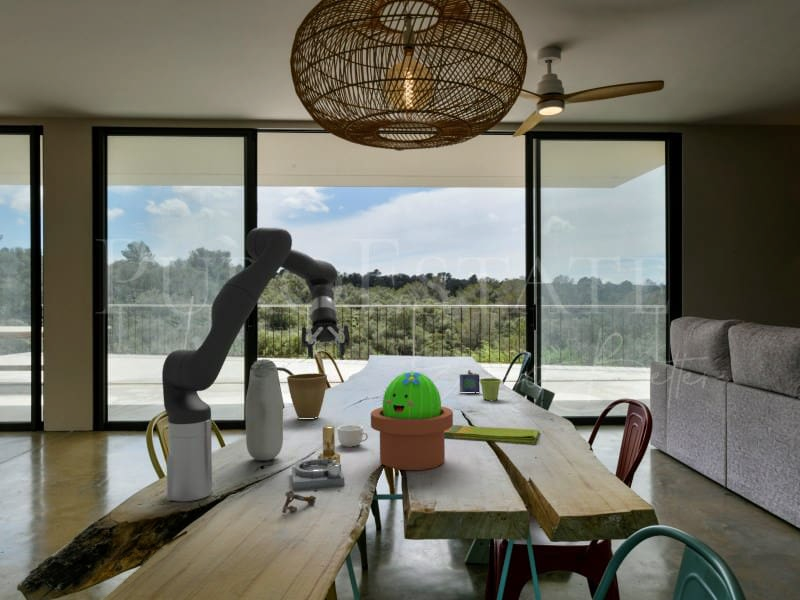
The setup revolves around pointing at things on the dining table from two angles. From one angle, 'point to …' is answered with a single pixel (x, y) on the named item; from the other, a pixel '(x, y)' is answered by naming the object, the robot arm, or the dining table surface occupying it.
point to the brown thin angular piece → (291, 495)
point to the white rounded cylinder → (264, 411)
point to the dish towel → (492, 434)
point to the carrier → (317, 474)
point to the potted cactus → (412, 423)
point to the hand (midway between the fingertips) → (326, 356)
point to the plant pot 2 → (490, 388)
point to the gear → (329, 444)
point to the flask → (469, 382)
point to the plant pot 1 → (307, 393)
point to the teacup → (351, 435)
